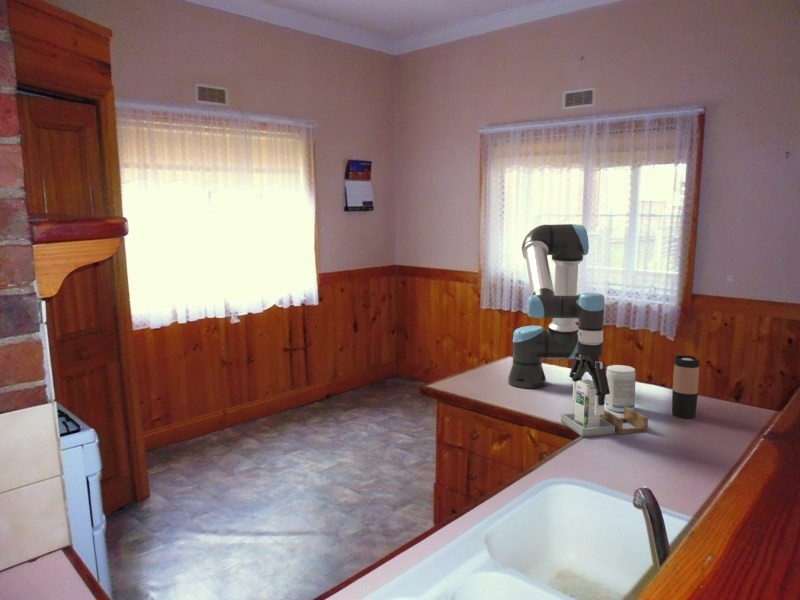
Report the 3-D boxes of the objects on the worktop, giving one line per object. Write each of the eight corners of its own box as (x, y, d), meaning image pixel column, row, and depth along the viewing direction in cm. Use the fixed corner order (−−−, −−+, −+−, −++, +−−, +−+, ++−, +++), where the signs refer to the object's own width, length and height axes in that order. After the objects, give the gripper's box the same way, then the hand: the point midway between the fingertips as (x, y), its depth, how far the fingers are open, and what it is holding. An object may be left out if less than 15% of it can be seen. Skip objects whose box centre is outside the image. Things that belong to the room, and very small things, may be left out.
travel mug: (667, 415, 188) (671, 358, 185) (675, 410, 194) (678, 354, 191) (692, 421, 183) (696, 362, 180) (699, 414, 188) (703, 357, 186)
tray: (560, 421, 184) (560, 414, 184) (591, 418, 186) (591, 411, 186) (582, 437, 170) (582, 429, 170) (614, 434, 172) (615, 426, 172)
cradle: (599, 422, 183) (599, 408, 182) (626, 419, 185) (627, 406, 184) (618, 434, 172) (619, 420, 172) (647, 431, 174) (648, 418, 173)
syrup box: (573, 424, 180) (574, 380, 178) (588, 421, 182) (589, 378, 180) (585, 430, 175) (586, 385, 173) (600, 427, 177) (602, 383, 175)
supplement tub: (640, 409, 194) (642, 369, 192) (623, 415, 189) (625, 373, 187) (615, 402, 202) (617, 363, 200) (599, 407, 197) (600, 367, 195)
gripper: (560, 335, 186) (558, 396, 189) (600, 352, 161) (597, 421, 164) (580, 333, 187) (578, 394, 190) (624, 350, 163) (620, 419, 166)
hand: (587, 407), depth 177 cm, fingers open, 13 cm apart
